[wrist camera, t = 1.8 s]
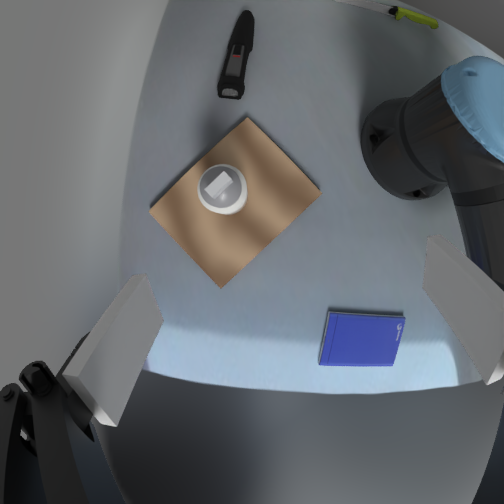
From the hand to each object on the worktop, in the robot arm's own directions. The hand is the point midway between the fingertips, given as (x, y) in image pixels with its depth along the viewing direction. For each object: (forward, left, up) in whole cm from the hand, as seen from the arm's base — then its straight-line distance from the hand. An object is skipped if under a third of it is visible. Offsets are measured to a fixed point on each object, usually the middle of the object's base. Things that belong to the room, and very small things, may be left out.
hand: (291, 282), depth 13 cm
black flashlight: (-16, -22, -27) cm, 38 cm away
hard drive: (-1, +20, -27) cm, 34 cm away
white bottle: (-1, -8, -25) cm, 26 cm away
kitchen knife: (-43, -16, -26) cm, 53 cm away
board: (-1, -7, -26) cm, 27 cm away
